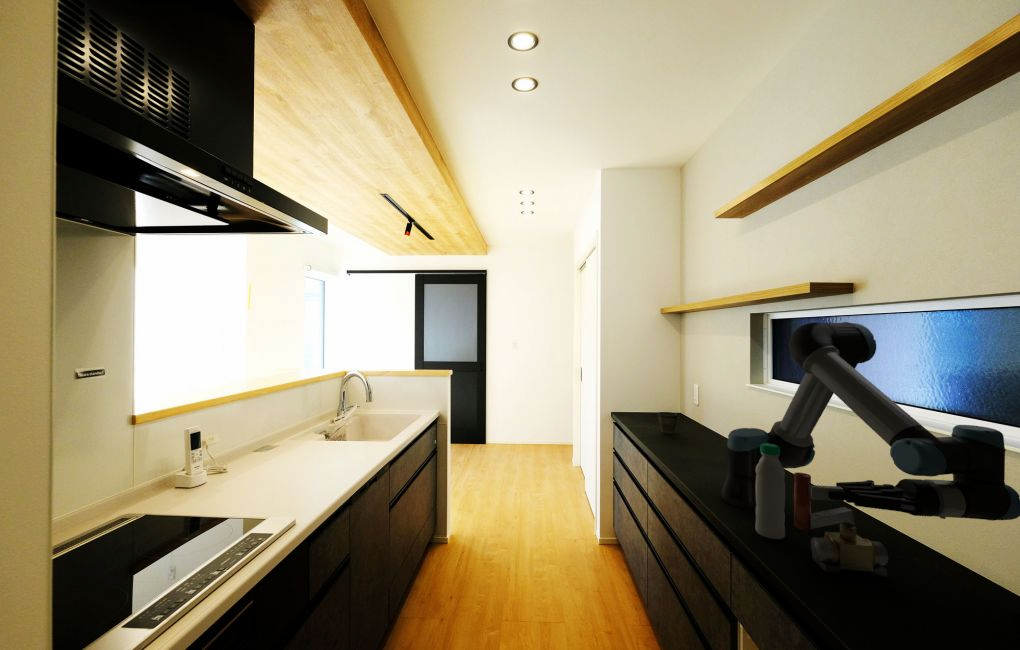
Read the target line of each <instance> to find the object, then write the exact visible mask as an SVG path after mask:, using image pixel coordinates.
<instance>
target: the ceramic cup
mask: <svg viewBox="0 0 1020 650" xmlns="http://www.w3.org/2000/svg"><path fill="white" fill-rule="evenodd" d="M657 415H658V417H657V418H658V423H659V428H660V432H661V433H664V434H674V433H675V430H676V427H677V426H678V425H680V424H681V423H682V422H683V417H682V416H678V413H675V412H670V411H669V412H668V411H661V412H660V411H659V412H658V413H657ZM679 418H680V419H681V420H680V421H679V422H677V420H678V419H679Z"/></svg>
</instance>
